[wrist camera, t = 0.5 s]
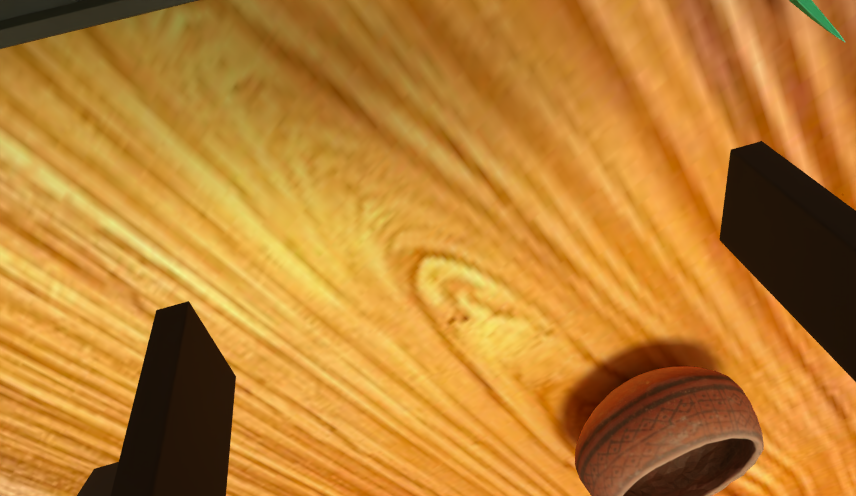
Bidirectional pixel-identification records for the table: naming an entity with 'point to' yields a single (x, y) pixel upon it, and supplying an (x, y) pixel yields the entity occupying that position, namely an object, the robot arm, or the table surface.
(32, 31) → the tray
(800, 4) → the knife
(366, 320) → the table surface
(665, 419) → the bowl
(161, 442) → the robot arm
